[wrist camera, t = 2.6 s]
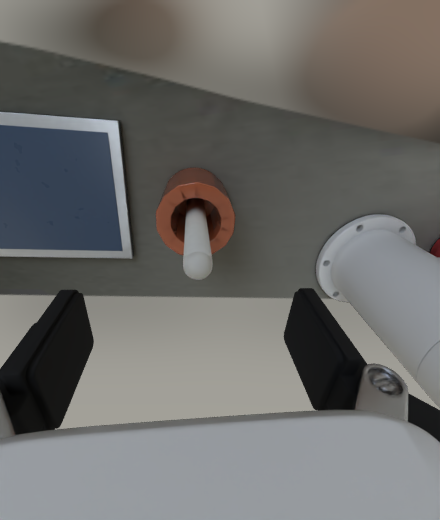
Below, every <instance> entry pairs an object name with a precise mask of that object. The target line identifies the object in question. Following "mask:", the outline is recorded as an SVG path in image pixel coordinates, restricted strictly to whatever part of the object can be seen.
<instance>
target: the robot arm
mask: <svg viewBox="0 0 440 520" xmlns="http://www.w3.org/2000/svg"><path fill="white" fill-rule="evenodd" d="M316 277H317V280H318V283H319V285H320V286H321V288H322V289H323V290H324V292H325V293H326V294H327V295H328V296H330V297H331V298H333V299H335V300H338V301H342V302H349V303H350V304H351V305H352V306H353V307H354V309H355V310H356V311H357V312H358V313H359V314H360V316H361V317H362V318H363V319H364V320H365V322H366V323H367V324H368V325H369V326H370V327H371V329H372V330H373V331H374V332H375V333H376V335H377V336H378V337H379V338H380V339H381V340H382V342H383V343H384V344H385V345H386V346H387V348H388V349H389V350H390V351H391V352H392V353H393V355H394V356H395V357H396V358H397V359H398V360H399V362H400V363H401V364H402V365H403V366H404V368H405V369H406V370H407V371H408V372H409V373H410V375H411V376H412V377H413V378H414V379H415V381H416V382H417V383H418V384H419V385H420V387H421V388H422V389H423V390H424V391H425V392H426V394H427V395H428V396H429V397H430V398H431V399H432V400H433V401H434V403H435V404H436V405H437V406H438V407H439V408H440V257H436V256H434V255H432V254H430V253H429V252H427V251H425V250H423V249H422V248H420V247H418V246H416V239H415V236H414V233H413V231H412V230H411V228H410V227H409V225H407V224H406V223H405V222H403V221H402V220H400V219H398V218H396V217H393V216H389V215H384V214H374V215H368V216H364V217H361V218H358V219H355V220H354V221H352V222H350V223H348V224H346V225H345V226H343V227H342V228H340V229H339V230H338V231H337V232H336V233H334V234H333V235H332V236H331V237H330V238H329V240H328V241H327V242H326V244H325V245H324V247H323V248H322V250H321V252H320V254H319V257H318V260H317V264H316ZM284 340H285V343H286V345H287V348H288V350H289V352H290V355H291V357H292V359H293V362H294V364H295V366H296V369H297V371H298V373H299V376H300V378H301V380H302V382H303V385H304V387H305V390H306V392H307V394H308V397H309V399H310V401H311V404H312V406H313V408H314V409H315V410H318V411H301V412H300V411H299V412H284V413H269V414H253V415H238V416H224V417H210V418H196V419H181V420H167V421H154V422H141V423H128V424H115V425H102V426H89V427H79V428H68V429H57V430H55V428H59V427H60V425H61V423H62V421H63V419H64V416H65V414H66V411H67V409H68V407H69V404H70V402H71V399H72V397H73V394H74V392H75V389H76V387H77V384H78V382H79V380H80V377H81V375H82V372H83V370H84V367H85V365H86V363H87V360H88V358H89V355H90V353H91V350H92V348H93V342H94V341H93V335H92V331H91V327H90V323H89V319H88V314H87V310H86V306H85V301H84V297H83V294H82V293H79V292H78V291H77V290H61V291H60V292H59V293H58V294H57V296H56V297H55V298H54V300H53V301H52V302H51V304H50V305H49V307H48V308H47V309H46V311H45V312H44V314H43V315H42V316H41V318H40V319H39V320H38V322H37V323H35V324H34V325H33V326H32V327H31V328H30V329H29V331H28V332H27V333H26V335H25V336H24V338H23V339H22V340H21V342H20V343H19V344H18V346H17V347H16V348H15V350H14V351H13V352H12V354H11V355H10V357H9V358H8V359H7V361H6V362H5V363H4V365H3V366H2V367H1V369H0V520H440V410H438V409H436V408H435V407H433V406H431V405H429V404H427V403H425V402H423V401H421V400H420V399H418V398H416V397H414V396H412V395H410V394H409V393H408V388H407V385H406V384H405V382H404V380H403V379H402V378H401V377H400V376H399V375H398V374H397V373H395V372H394V371H393V370H391V369H389V368H388V367H385V366H383V365H380V364H367V363H366V362H365V360H364V359H363V358H362V356H361V355H360V353H359V352H358V350H357V349H356V348H355V346H354V345H353V343H352V342H351V341H350V339H349V338H348V337H347V335H346V334H345V332H344V331H343V330H342V328H341V327H340V326H339V324H338V323H337V321H336V320H335V318H334V317H333V316H332V314H331V313H330V311H329V310H328V309H327V307H326V306H325V304H324V303H323V302H322V300H321V299H320V298H319V296H318V295H317V293H316V292H315V291H314V289H312V288H301V289H299V290H298V292H295V294H294V298H293V302H292V306H291V309H290V313H289V317H288V320H287V325H286V328H285V332H284Z"/></svg>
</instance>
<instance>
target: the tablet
mask: <svg viewBox="0 0 440 520" xmlns="http://www.w3.org/2000/svg"><path fill="white" fill-rule="evenodd" d="M0 256H6V257H70V258H133V256H134V251H133V242H132V232H131V222H130V213H129V203H128V193H127V183H126V174H125V164H124V154H123V144H122V135H121V125H120V121H117V120H104V119H91V118H78V117H65V116H52V115H39V114H27V113H14V112H1V111H0Z"/></svg>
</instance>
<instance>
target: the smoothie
mask: <svg viewBox="0 0 440 520" xmlns="http://www.w3.org/2000/svg"><path fill="white" fill-rule="evenodd" d="M430 254H432V255H434V256H436V257H440V239H438V240H437V241H436V243H435V244H434V246H433V247H432V249H431V252H430Z"/></svg>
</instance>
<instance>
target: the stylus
mask: <svg viewBox="0 0 440 520" xmlns="http://www.w3.org/2000/svg"><path fill="white" fill-rule="evenodd" d="M183 268H184V271H185V273H186V274H187V275H188V276H189V277H190V278H192V279H195V280H201V279H204V278H206V277H207V276H208V275H209V274H210V273H211V271H212V268H213V261H212V254H211V247H210V241H209V234H208V227H207V220H206V213H205V206H204V201H203V199H200V198H191V199H187V203H186V221H185V239H184V257H183Z"/></svg>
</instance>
